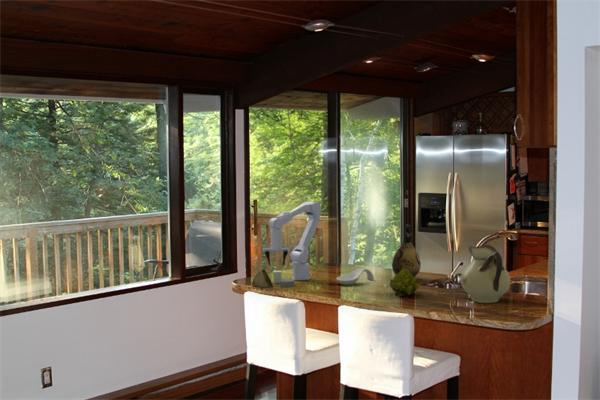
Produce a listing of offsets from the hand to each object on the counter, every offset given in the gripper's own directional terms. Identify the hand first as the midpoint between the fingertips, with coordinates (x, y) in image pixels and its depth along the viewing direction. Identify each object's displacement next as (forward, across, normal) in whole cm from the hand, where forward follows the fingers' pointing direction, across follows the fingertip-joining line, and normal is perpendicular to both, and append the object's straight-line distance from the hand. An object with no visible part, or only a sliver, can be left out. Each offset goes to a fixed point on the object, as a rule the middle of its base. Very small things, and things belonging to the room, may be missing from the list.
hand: (276, 265), depth 394 cm
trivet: (+10, +5, -9) cm, 14 cm away
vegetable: (+10, +62, -42) cm, 76 cm away
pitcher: (+10, +97, -61) cm, 115 cm away
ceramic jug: (+10, +71, -1) cm, 71 cm away
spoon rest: (+10, +42, -7) cm, 44 cm away
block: (+10, 0, 0) cm, 10 cm away
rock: (+10, -8, -10) cm, 16 cm away
